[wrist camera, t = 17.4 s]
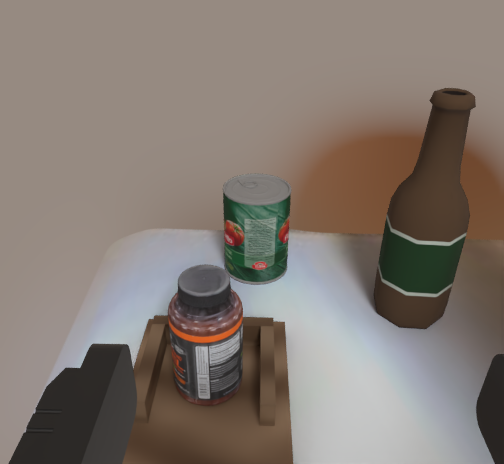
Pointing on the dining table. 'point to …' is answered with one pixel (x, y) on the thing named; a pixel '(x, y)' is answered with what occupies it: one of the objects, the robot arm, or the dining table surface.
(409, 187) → the beer bottle
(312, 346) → the dining table surface
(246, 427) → the walnut dock
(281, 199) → the canned tomato
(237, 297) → the supplement bottle
